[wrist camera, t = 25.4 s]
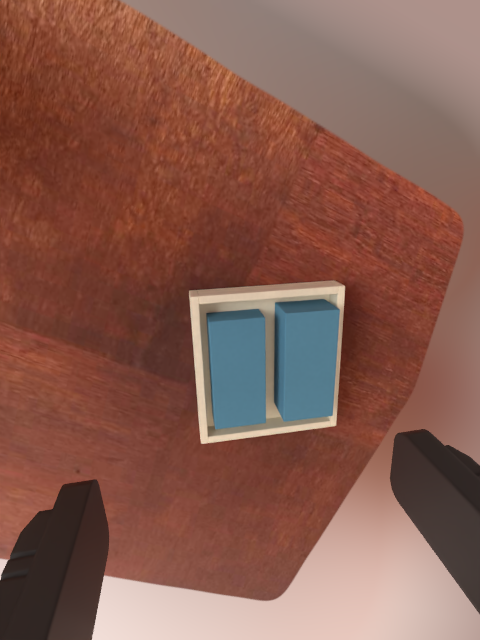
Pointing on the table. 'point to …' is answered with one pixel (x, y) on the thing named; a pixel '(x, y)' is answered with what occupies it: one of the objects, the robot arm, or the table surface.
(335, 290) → the cream tray
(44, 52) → the table surface
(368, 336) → the table surface
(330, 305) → the blue rectangular block
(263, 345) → the blue brick
